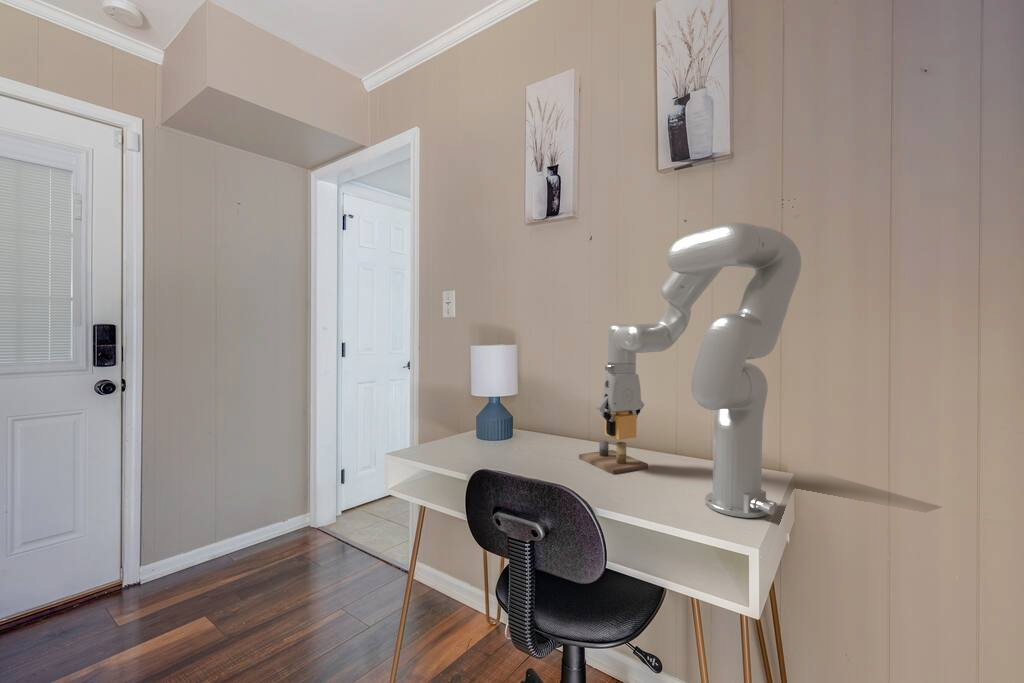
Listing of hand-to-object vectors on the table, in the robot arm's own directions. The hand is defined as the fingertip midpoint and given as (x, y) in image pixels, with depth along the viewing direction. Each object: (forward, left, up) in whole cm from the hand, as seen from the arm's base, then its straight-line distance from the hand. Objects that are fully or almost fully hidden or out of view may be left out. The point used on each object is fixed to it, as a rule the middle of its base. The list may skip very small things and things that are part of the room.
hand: (620, 433), depth 129 cm
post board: (+4, 0, -9) cm, 10 cm away
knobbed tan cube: (0, 0, -1) cm, 1 cm away
